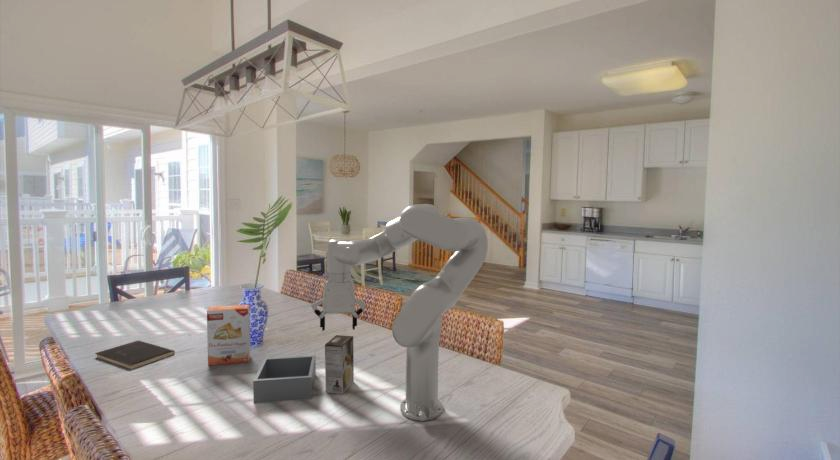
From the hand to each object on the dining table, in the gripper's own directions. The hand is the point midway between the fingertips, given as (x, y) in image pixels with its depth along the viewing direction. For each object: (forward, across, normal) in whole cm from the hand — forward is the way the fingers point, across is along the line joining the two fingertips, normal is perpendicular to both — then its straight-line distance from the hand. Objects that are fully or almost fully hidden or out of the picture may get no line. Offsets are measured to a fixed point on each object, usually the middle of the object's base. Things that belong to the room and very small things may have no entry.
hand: (338, 328), depth 131 cm
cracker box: (+21, -40, +26) cm, 53 cm away
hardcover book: (+22, -77, +38) cm, 89 cm away
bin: (+20, -16, +2) cm, 26 cm away
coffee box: (+20, +1, 0) cm, 20 cm away
